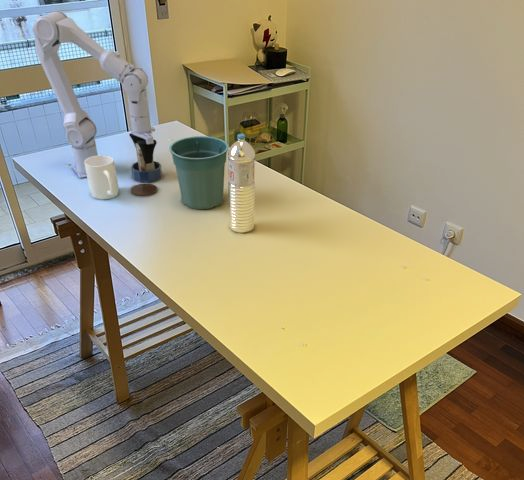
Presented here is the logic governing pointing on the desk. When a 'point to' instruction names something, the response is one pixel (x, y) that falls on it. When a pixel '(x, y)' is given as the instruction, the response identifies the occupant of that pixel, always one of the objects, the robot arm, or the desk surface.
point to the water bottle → (241, 185)
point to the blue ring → (146, 173)
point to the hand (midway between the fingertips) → (145, 159)
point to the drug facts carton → (141, 161)
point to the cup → (101, 177)
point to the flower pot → (200, 170)
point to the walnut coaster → (144, 189)
